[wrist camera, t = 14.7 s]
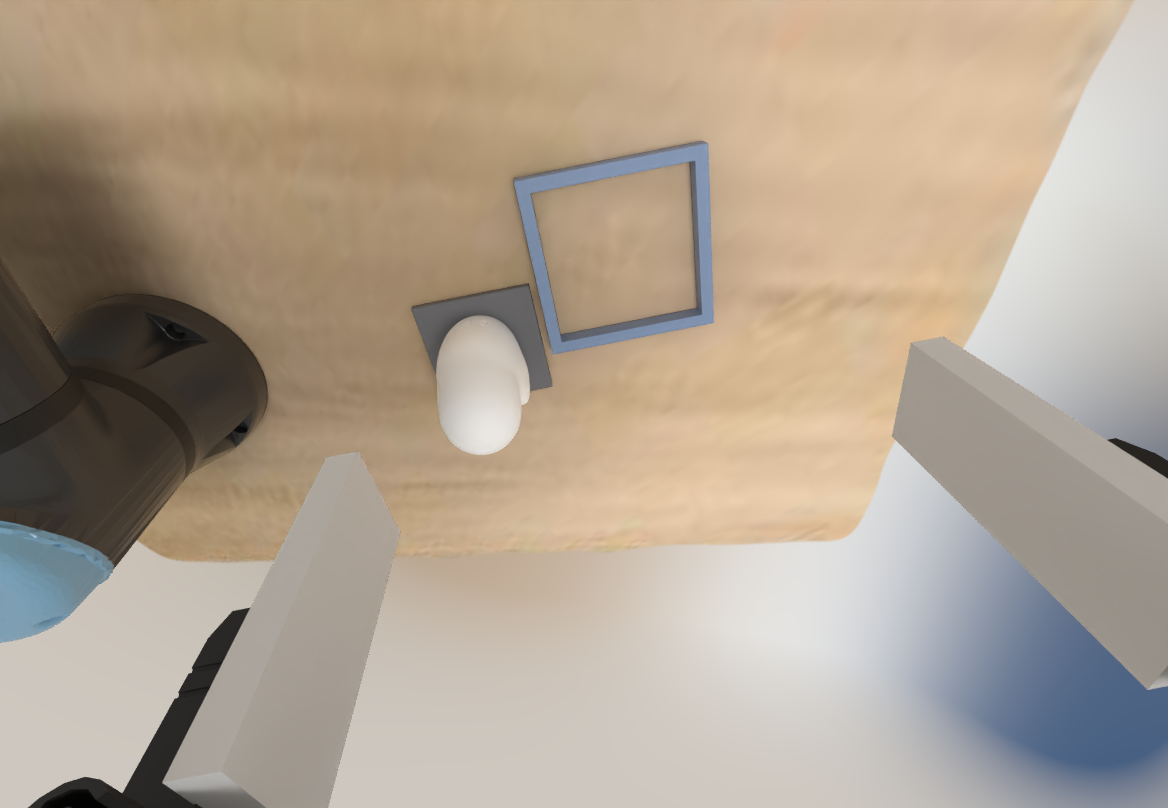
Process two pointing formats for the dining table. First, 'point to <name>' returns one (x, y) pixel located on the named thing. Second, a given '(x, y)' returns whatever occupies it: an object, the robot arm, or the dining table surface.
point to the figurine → (481, 385)
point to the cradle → (607, 169)
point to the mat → (500, 304)
